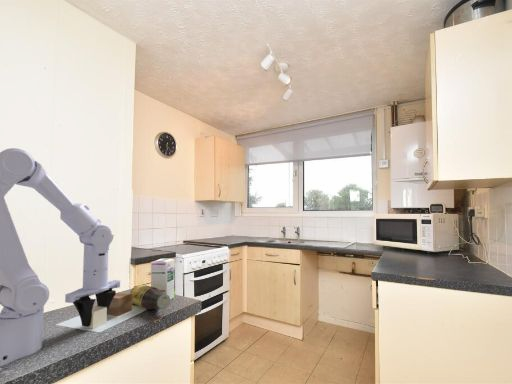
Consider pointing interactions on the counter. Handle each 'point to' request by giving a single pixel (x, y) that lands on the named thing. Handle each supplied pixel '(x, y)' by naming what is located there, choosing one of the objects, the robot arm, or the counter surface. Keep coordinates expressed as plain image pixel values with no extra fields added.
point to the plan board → (110, 322)
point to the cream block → (98, 316)
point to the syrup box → (164, 276)
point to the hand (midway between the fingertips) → (94, 322)
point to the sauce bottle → (149, 297)
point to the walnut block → (120, 304)
